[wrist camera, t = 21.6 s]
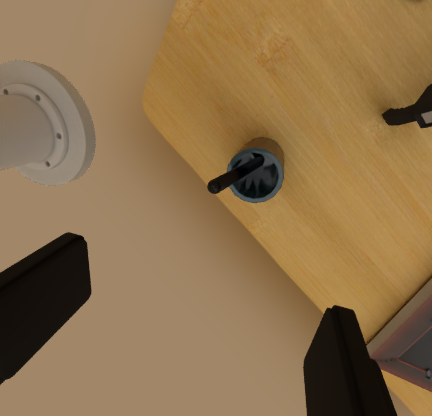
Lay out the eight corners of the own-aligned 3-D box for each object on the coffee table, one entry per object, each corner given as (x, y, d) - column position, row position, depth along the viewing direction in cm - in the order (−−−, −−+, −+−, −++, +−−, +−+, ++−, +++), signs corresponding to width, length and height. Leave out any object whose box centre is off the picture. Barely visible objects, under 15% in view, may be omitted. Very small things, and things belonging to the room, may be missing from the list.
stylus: (255, 164, 32) (204, 193, 21) (257, 155, 31) (205, 179, 21) (264, 166, 32) (216, 197, 21) (266, 157, 31) (218, 183, 20)
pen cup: (236, 176, 34) (222, 196, 27) (243, 133, 31) (231, 143, 24) (278, 184, 33) (275, 208, 26) (289, 141, 30) (289, 154, 23)
